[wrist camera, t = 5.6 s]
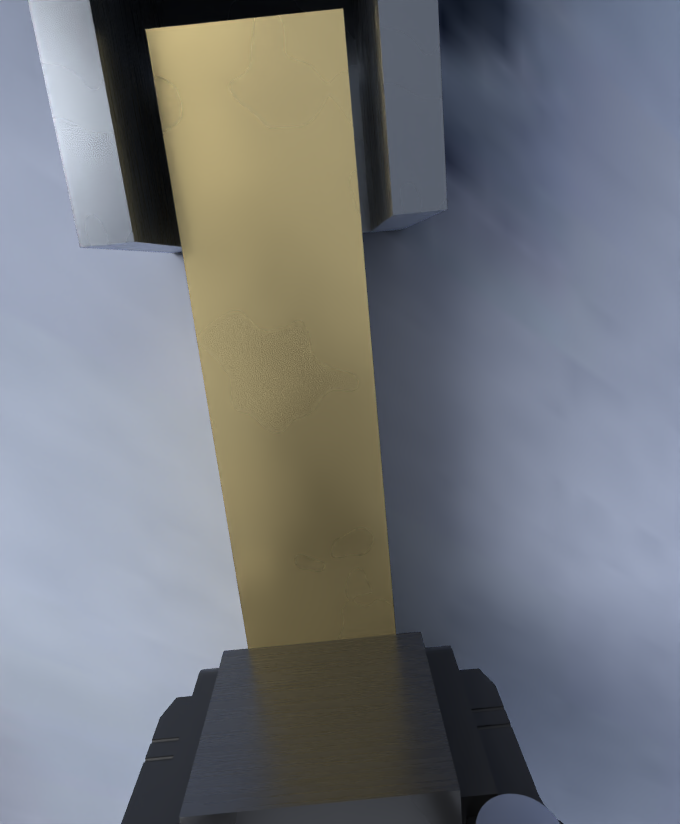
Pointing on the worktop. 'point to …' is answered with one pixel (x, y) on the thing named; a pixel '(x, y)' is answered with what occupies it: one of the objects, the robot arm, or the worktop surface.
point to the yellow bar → (293, 437)
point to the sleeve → (141, 126)
